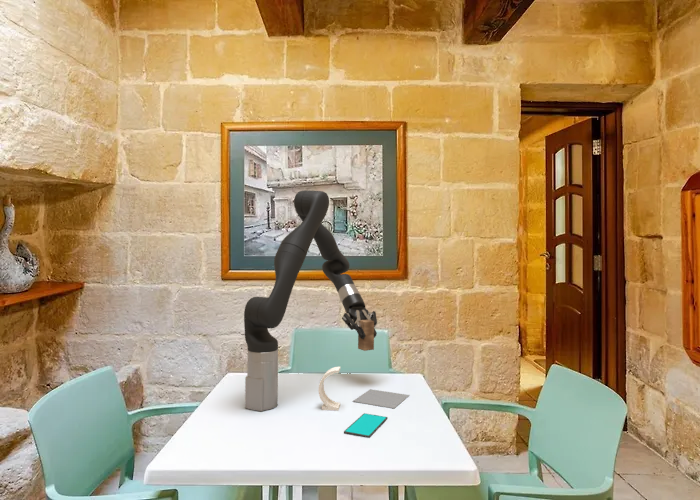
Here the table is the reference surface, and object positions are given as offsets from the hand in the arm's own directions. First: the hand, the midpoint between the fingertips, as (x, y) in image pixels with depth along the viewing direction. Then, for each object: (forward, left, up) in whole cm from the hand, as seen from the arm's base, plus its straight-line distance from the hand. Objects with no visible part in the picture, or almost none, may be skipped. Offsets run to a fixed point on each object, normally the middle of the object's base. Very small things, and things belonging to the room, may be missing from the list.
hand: (369, 336), depth 161 cm
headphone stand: (-24, +3, -18) cm, 30 cm away
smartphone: (-32, -13, -18) cm, 39 cm away
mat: (-9, -8, -18) cm, 22 cm away
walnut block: (+1, +2, -5) cm, 5 cm away
